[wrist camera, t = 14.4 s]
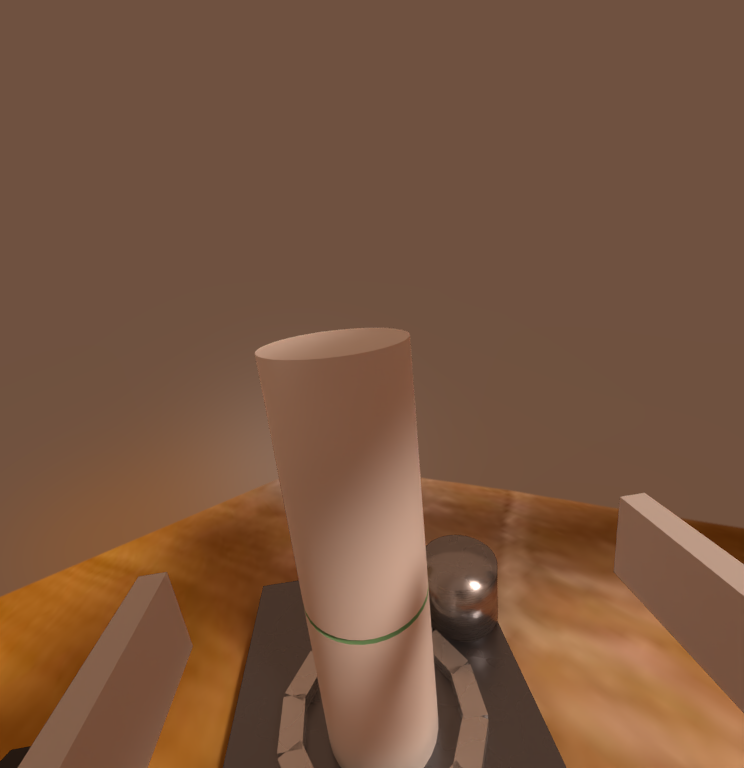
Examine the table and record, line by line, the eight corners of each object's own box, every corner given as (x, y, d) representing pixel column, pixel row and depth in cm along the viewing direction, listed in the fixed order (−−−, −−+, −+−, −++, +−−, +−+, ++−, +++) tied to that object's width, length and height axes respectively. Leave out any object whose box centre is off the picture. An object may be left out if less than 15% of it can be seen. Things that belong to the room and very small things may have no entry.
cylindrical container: (421, 655, 29) (393, 323, 22) (454, 772, 22) (428, 345, 15) (327, 675, 28) (265, 338, 21) (330, 803, 21) (241, 369, 14)
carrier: (470, 563, 39) (468, 492, 36) (599, 833, 20) (611, 723, 18) (265, 596, 37) (249, 524, 35) (198, 918, 19) (153, 811, 16)
